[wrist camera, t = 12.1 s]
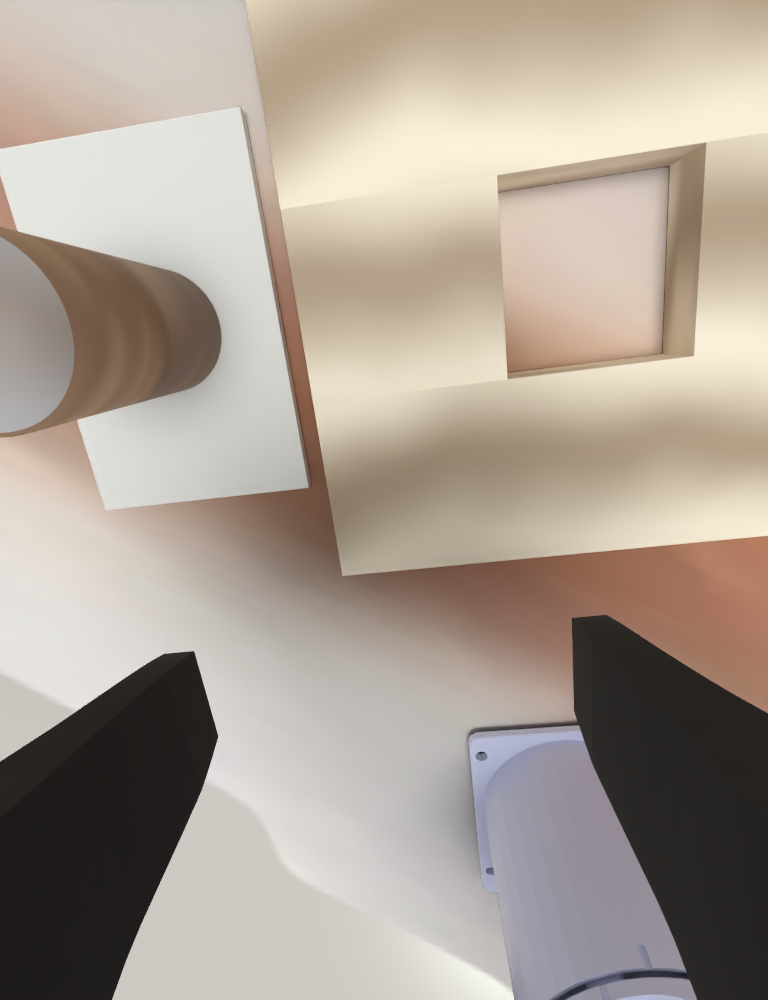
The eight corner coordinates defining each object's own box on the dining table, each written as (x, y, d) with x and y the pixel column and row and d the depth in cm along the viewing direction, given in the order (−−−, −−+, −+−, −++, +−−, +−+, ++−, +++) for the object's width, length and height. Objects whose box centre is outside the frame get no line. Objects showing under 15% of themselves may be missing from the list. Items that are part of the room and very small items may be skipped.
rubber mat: (311, 484, 19) (308, 487, 19) (112, 506, 20) (105, 510, 19) (244, 113, 16) (239, 106, 15) (4, 155, 16) (-8, 150, 16)
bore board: (829, 505, 19) (877, 525, 17) (348, 553, 20) (342, 576, 18) (928, -146, 13) (1016, -228, 11) (256, -15, 15) (233, -67, 13)
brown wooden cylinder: (232, 384, 18) (104, 426, 10) (124, 398, 18) (-82, 447, 10) (206, 260, 16) (36, 200, 9) (90, 276, 17) (-172, 232, 9)
